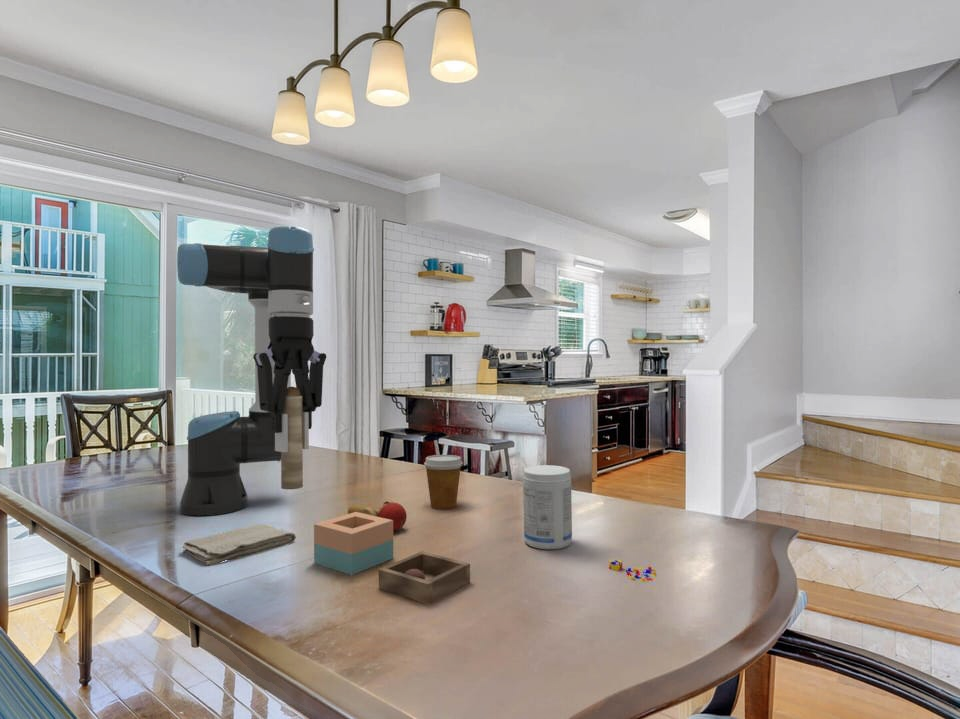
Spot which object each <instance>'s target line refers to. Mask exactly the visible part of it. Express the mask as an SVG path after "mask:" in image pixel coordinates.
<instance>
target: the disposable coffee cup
mask: <svg viewBox="0 0 960 719" xmlns="http://www.w3.org/2000/svg"><path fill="white" fill-rule="evenodd" d="M461 458H462V457H461V456H459V455H452V454H438V455H437V454H434V455H428V456H427V457H425V462H423V464H424V467H425V470H426V476H427V477H426V479H427V485H428V486H427V487H428V493H429V501H430V507H431V508H432V507H433V508H432V509H436V508H437V510H450V509H453V508H456V507H457V501H458V493H459V492H458V491H459V485H460V484H459V483H460V476H461V467H462V465H463V461H462V459H461ZM449 508H450V509H449Z"/></svg>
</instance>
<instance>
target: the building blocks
mask: <svg viewBox="0 0 960 719" xmlns="http://www.w3.org/2000/svg"><path fill="white" fill-rule="evenodd" d="M608 564H609V566H608V569H609V570H611V571H612V570H613V571H616V572H619V571H620V570H621V569H623V560H620V559H617V558H616V559H615V558H613V559H611V560H609V562H608ZM644 568H645V567H640V566H639V567H634V568H633V570H632V567H628V568H627V569H626V570H625V571H626V576H627V579H630V578H631V579H630V580H631V581H635V580H636V579H637V578H638V579H639V581H640V580H642V582H641V583H644V582H643V581H646V582H645V583H648V582H649V581H654V579H652V578H656V577H657V576H656V574H657V570H655V569H652V566H648V567H647V569H645V571H642V572H643V573H642V574H641V573H640V572H641V570H644ZM634 572H635V573H634ZM631 573H634V576H633V574H631ZM651 573H652V574H651ZM649 574H651V575H649ZM629 575H630V576H631V577H629ZM638 575H639V576H638ZM640 575H641V576H643V575H644V576H643V577H642V578H641V576H640ZM651 577H652V578H651ZM634 579H635V580H634ZM647 581H648V582H647Z"/></svg>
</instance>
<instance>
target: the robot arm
mask: <svg viewBox="0 0 960 719" xmlns="http://www.w3.org/2000/svg"><path fill="white" fill-rule="evenodd" d="M267 235H268V237H267V238H268V239H267V243H266V244H267V245H266V246H267V247H259V246H244V245H243V246H242V245H215V244H203V243H181V244H179V245H178V247H177V254H176V256H177V259H176V260H177V261H176V263H177V266H176V267H177V269H176V270H177V279H178V281H179V283H180V284H182V285H185V286H194V287H207V288H210V289H213V290H218V291H222V292H227V293H234V294H246V295H247V297H248V298H247V300H248V302H249V303H250V305H251V306H252V307H254V354H253V360H254V367H255V368H254V369H255V370H254V373H255V375H254V379H255V380H254V388H255V389H254V390H255V391H254V392H255V395H254V396H255V397H254V398H255V399H254V400H255V401H254V404H252V405H251V406H250V407H249V409H248V416H241V414H240V412H239V411H237V410H232V411H222V412H215V413H210V414H205V415H200V416H196V417H194V418H192V419H191V420H190V421H189V422H188V424H187V436H186V440H187V480H186V484H185V488H184V490H183V492H182V495H181V499H180V502H179V512H180V513H181V514H183V515H185V516H193V515H197V516H196V517H199V515H207V516H215V515H214V514H217V515H223V514H224V515H225V514H230V513H233V512H236V511H240V510H242V509H244V508H246V507H247V506H248V504H249V503H248V500H249V499H248V494H247V491H246V488H245V485H244V482H243V479H242V476H241V468H240V467H241V464H251V463H262V462H264V463H265V462H279V463H280V462H281V452H288V414H282V413H283V411H284V404H285V398H286V391H287V388H288V387H292V385H291V384H292V383H291V382H292V381H291V380H292V374H293V376H294V382H295V387H296V388H297V389H298V390H299V391H300V396H302V437H303V450H309V449H310V445H309V444H310V443H309V442H310V438H309V435H310V434H309V433H310V432H309V431H310V430H311V429H312V425H313V421H312V420H313V418H312V416H313V414H312V413H314V412H315V411H316V410H317V408H320V407H322V403H323V402H322V400H323V384H324V383H323V380H324V364H325V363H326V359H327V354H326V353H324V352H321V353H320V352H318V351H317V350H315V348H314V347H315V346H314V345H313V341H312V340H313V338H314V319H313V318H312V317H311V316H312V315H313V314H314V286H313V285H314V251H315V247H314V246H313V245H314V244H313V240H314V239H313V233H311V231H310V230H308V229H306V228H303V227H298V226H292V225H283V226H282V225H281V226H275V227H272V228H271V229H270V230H268V234H267ZM309 362H310V364H309Z"/></svg>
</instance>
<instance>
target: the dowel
mask: <svg viewBox="0 0 960 719" xmlns="http://www.w3.org/2000/svg"><path fill="white" fill-rule="evenodd" d="M282 414H288V452H281V461H280V468H281V469H280V470H281V471H280V472H281V473H280V479H281V480H280V481H281V482H280V484H281V485H280V488H281V489H282V490H297V489H302V488H303V487H304V485H303V484H304V483H303V482H304V481H303V480H304V476H303V475H304V472H303V469H304V463H303V462H304V459H303V457H304V456H303V455H304V454H303V451H304V449H303V437H302V396H300V391H299V390H298V389H297V388H296V386H291V387H288V388H287V391H286V398H285V404H284V411H283V413H282Z"/></svg>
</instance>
